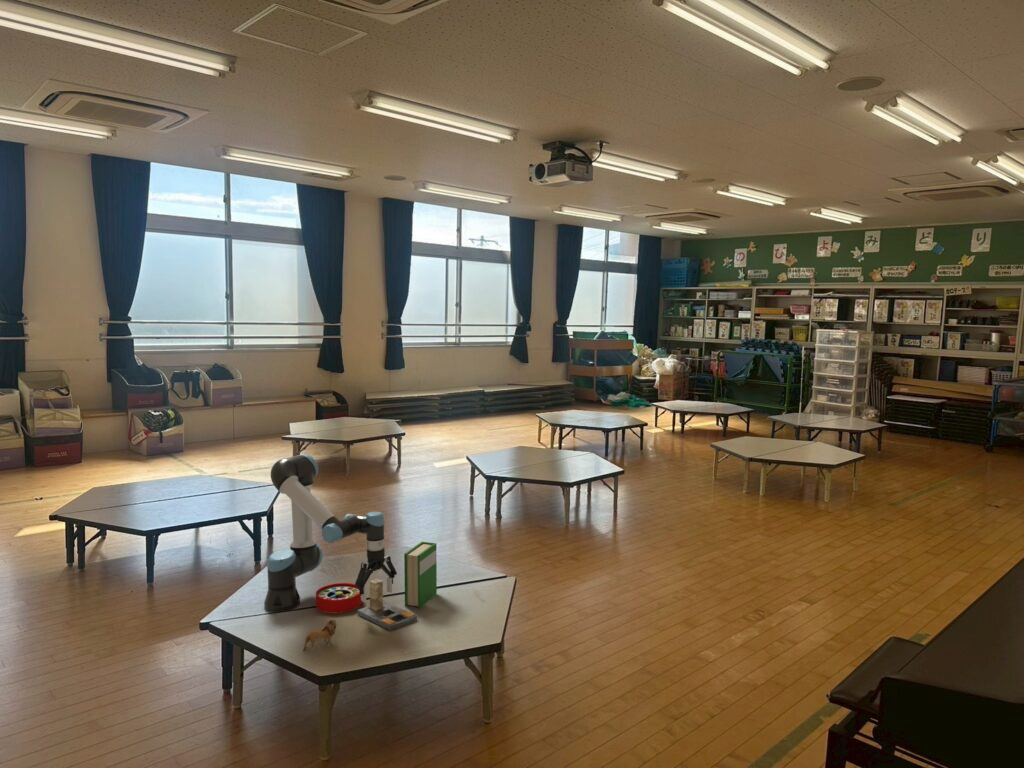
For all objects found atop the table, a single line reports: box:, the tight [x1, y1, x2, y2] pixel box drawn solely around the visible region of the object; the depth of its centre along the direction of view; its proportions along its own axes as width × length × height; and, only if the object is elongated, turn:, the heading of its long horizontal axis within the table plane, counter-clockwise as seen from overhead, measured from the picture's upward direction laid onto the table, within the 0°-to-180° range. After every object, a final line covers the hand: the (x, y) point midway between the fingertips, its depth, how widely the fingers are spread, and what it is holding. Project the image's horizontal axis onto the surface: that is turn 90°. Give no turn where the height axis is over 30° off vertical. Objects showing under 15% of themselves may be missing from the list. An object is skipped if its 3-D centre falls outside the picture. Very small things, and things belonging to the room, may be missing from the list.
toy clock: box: [315, 582, 363, 614], centre depth 308 cm, size 20×6×20 cm
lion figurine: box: [302, 618, 338, 652], centre depth 267 cm, size 15×5×9 cm, turn 138°
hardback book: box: [403, 541, 438, 609], centre depth 311 cm, size 18×7×24 cm, turn 162°
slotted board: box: [356, 600, 418, 632], centre depth 293 cm, size 14×23×2 cm, turn 47°
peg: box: [369, 578, 384, 612], centre depth 298 cm, size 4×4×14 cm
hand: (376, 596), depth 298 cm, fingers open, 13 cm apart
